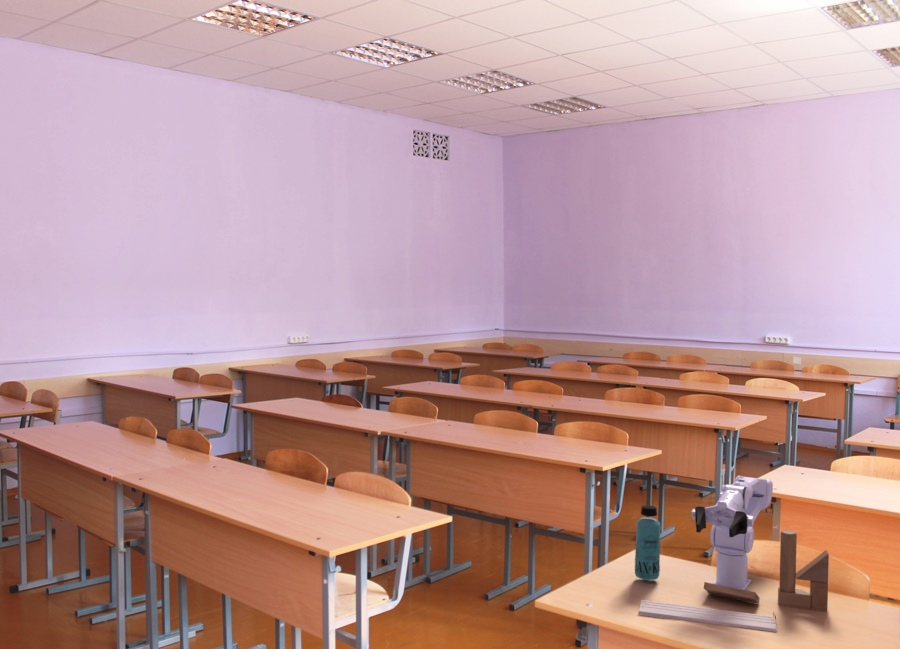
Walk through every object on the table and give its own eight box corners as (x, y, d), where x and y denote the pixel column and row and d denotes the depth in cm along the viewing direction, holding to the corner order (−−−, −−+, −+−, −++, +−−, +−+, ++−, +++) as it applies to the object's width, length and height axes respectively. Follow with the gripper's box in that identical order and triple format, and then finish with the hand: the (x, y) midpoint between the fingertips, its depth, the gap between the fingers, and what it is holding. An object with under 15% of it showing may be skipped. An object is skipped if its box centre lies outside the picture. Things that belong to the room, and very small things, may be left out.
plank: (708, 593, 197) (709, 587, 197) (758, 604, 190) (759, 597, 191) (703, 588, 192) (704, 582, 193) (754, 598, 186) (755, 592, 186)
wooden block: (827, 612, 186) (829, 538, 186) (778, 606, 190) (780, 533, 189) (825, 607, 190) (827, 533, 189) (777, 601, 193) (779, 529, 193)
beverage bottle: (629, 578, 208) (631, 504, 207) (651, 576, 210) (652, 502, 209) (642, 587, 202) (644, 510, 201) (665, 584, 203) (666, 508, 203)
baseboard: (641, 601, 193) (638, 617, 184) (642, 590, 193) (639, 605, 183) (773, 618, 184) (777, 635, 174) (773, 606, 184) (777, 623, 174)
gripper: (697, 491, 201) (682, 510, 189) (756, 498, 193) (745, 519, 182) (698, 517, 202) (684, 538, 190) (757, 525, 194) (746, 547, 183)
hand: (714, 530), depth 186 cm, fingers open, 7 cm apart
